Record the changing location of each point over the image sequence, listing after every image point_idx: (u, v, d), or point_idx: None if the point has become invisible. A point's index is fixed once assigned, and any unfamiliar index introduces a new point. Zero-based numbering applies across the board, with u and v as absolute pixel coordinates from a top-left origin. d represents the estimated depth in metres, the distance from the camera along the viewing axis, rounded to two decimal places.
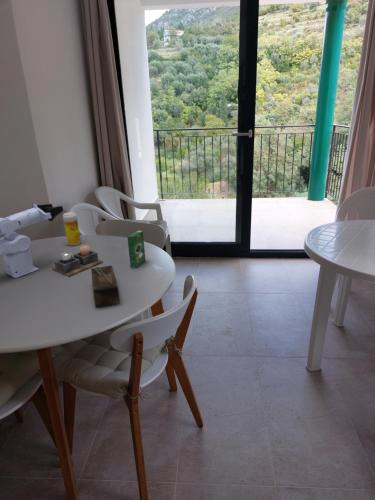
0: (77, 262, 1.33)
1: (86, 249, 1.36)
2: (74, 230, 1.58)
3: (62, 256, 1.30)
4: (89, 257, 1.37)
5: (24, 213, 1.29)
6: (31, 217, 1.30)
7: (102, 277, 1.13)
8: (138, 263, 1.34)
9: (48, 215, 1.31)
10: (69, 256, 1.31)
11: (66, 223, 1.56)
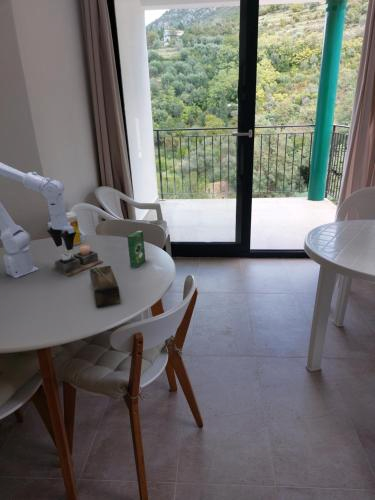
0: (77, 262, 1.33)
1: (86, 249, 1.36)
2: (74, 230, 1.58)
3: (62, 256, 1.30)
4: (89, 257, 1.37)
5: (62, 212, 1.24)
6: (63, 216, 1.25)
7: (102, 277, 1.13)
8: (138, 263, 1.34)
9: (72, 230, 1.24)
10: (69, 256, 1.31)
11: None
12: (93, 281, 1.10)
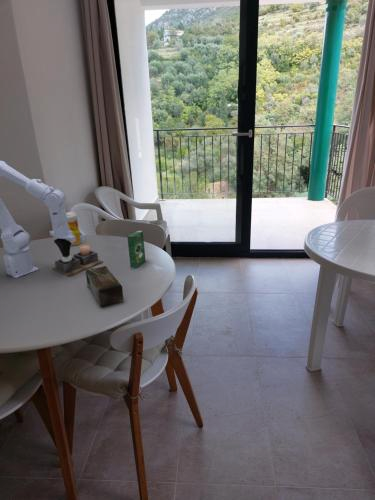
0: (77, 262, 1.33)
1: (86, 249, 1.36)
2: (74, 230, 1.58)
3: (62, 258, 1.31)
4: (89, 257, 1.37)
5: (64, 221, 1.25)
6: (65, 225, 1.26)
7: (101, 277, 1.13)
8: (138, 263, 1.34)
9: (74, 239, 1.25)
10: (69, 259, 1.31)
11: None
12: (94, 281, 1.10)
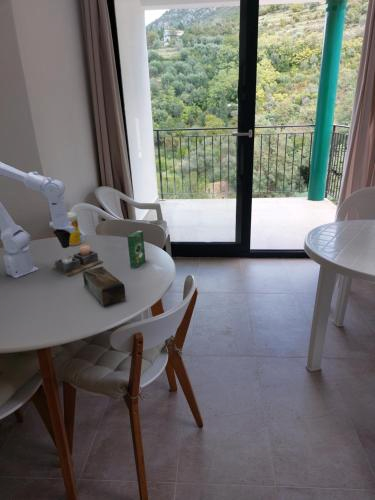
0: (77, 262, 1.33)
1: (86, 249, 1.36)
2: None
3: (63, 261, 1.31)
4: (89, 257, 1.37)
5: (63, 211, 1.24)
6: (64, 215, 1.25)
7: (101, 277, 1.13)
8: (138, 263, 1.34)
9: (73, 229, 1.24)
10: (70, 261, 1.32)
11: None
12: (95, 282, 1.09)
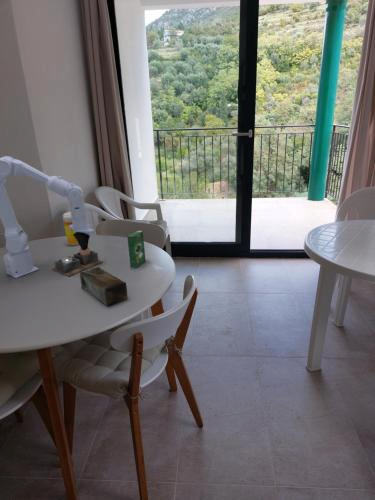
0: (77, 262, 1.33)
1: (86, 252, 1.37)
2: None
3: (63, 261, 1.31)
4: (89, 257, 1.37)
5: (85, 215, 1.32)
6: (84, 219, 1.32)
7: (101, 277, 1.13)
8: (138, 263, 1.34)
9: (93, 232, 1.31)
10: (70, 261, 1.32)
11: (66, 223, 1.56)
12: (95, 282, 1.09)
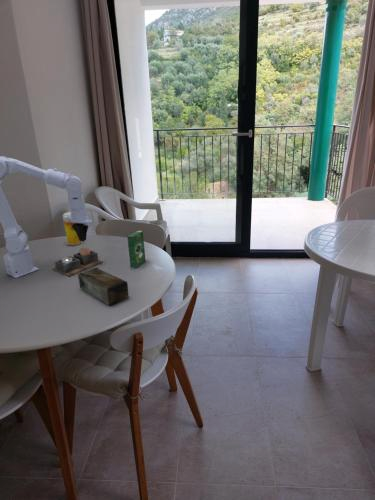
0: (77, 262, 1.33)
1: (86, 252, 1.37)
2: (74, 230, 1.58)
3: (63, 261, 1.31)
4: (89, 257, 1.37)
5: (83, 206, 1.31)
6: (83, 210, 1.31)
7: (100, 277, 1.13)
8: (138, 263, 1.34)
9: (91, 223, 1.30)
10: (70, 261, 1.32)
11: (66, 223, 1.56)
12: (96, 282, 1.09)
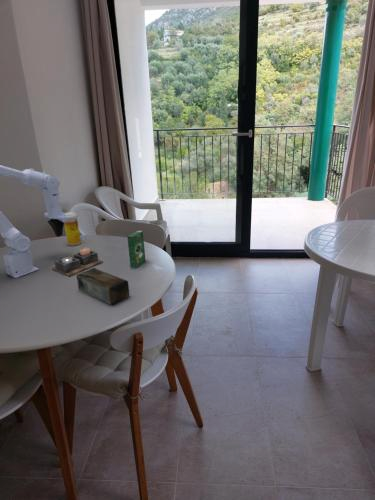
0: (77, 262, 1.33)
1: (86, 252, 1.37)
2: (74, 230, 1.58)
3: (63, 261, 1.31)
4: (89, 257, 1.37)
5: None
6: (58, 206, 1.37)
7: (100, 278, 1.13)
8: (138, 263, 1.34)
9: (66, 219, 1.36)
10: (70, 261, 1.32)
11: (66, 223, 1.56)
12: (97, 282, 1.09)
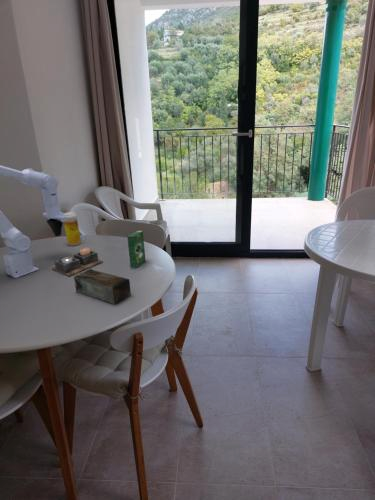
0: (77, 262, 1.33)
1: (86, 252, 1.37)
2: (74, 230, 1.58)
3: (63, 261, 1.31)
4: (89, 257, 1.37)
5: (58, 201, 1.39)
6: (56, 206, 1.38)
7: (100, 278, 1.13)
8: (138, 263, 1.34)
9: (64, 218, 1.37)
10: (70, 261, 1.32)
11: (66, 223, 1.56)
12: (98, 282, 1.09)
